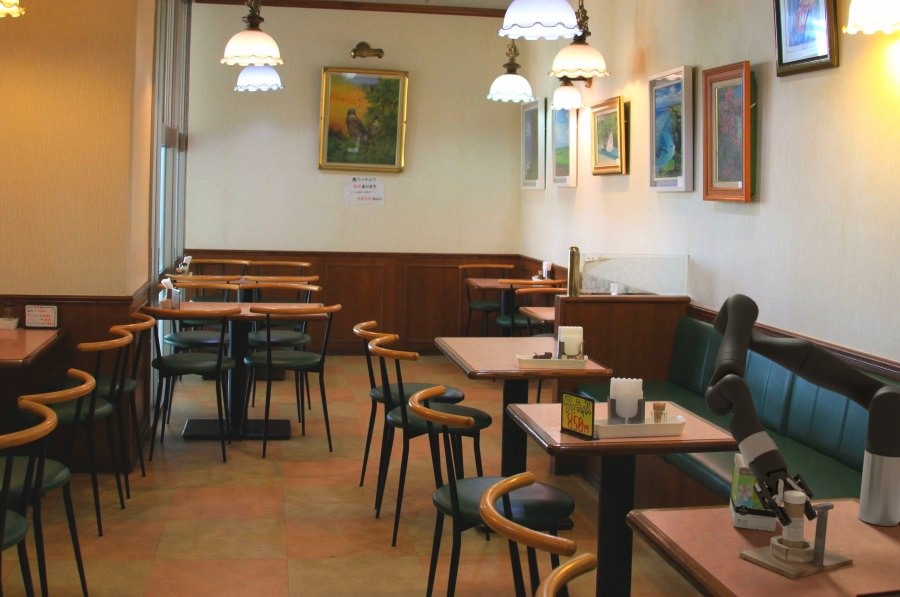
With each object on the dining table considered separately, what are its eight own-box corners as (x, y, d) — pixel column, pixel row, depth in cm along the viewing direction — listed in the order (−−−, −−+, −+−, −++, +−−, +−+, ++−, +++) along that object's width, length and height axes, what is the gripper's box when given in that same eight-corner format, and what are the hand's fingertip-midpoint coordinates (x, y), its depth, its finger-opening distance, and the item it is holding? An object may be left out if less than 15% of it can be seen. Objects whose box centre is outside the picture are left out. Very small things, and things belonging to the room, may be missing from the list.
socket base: (798, 542, 230) (804, 483, 228) (852, 563, 218) (858, 500, 217) (739, 556, 219) (744, 493, 217) (792, 579, 207) (798, 513, 206)
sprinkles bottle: (782, 548, 222) (784, 488, 221) (804, 551, 220) (806, 491, 219) (779, 554, 218) (782, 493, 217) (802, 558, 216) (804, 496, 215)
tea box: (777, 532, 236) (782, 471, 235) (732, 527, 238) (737, 466, 237) (770, 513, 251) (775, 455, 249) (728, 508, 253) (733, 451, 251)
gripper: (773, 462, 232) (810, 525, 224) (730, 468, 224) (768, 534, 216) (794, 445, 227) (833, 509, 219) (751, 451, 219) (790, 518, 211)
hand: (800, 521), depth 217 cm, fingers open, 8 cm apart
